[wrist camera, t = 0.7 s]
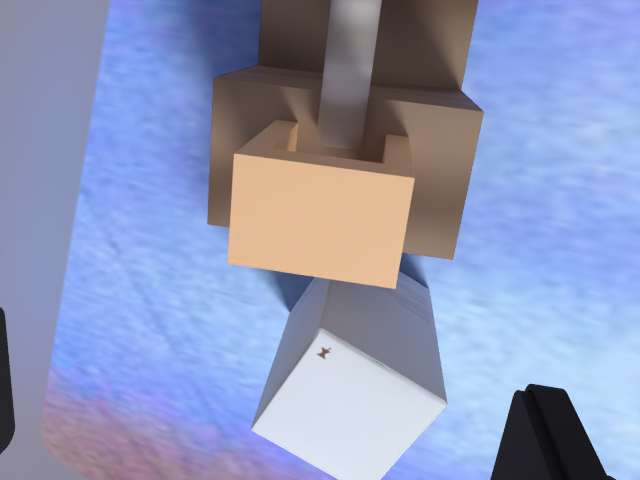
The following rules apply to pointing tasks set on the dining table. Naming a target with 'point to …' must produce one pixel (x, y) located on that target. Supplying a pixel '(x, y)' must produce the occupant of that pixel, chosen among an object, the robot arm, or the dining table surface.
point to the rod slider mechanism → (360, 99)
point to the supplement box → (354, 377)
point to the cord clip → (319, 209)
